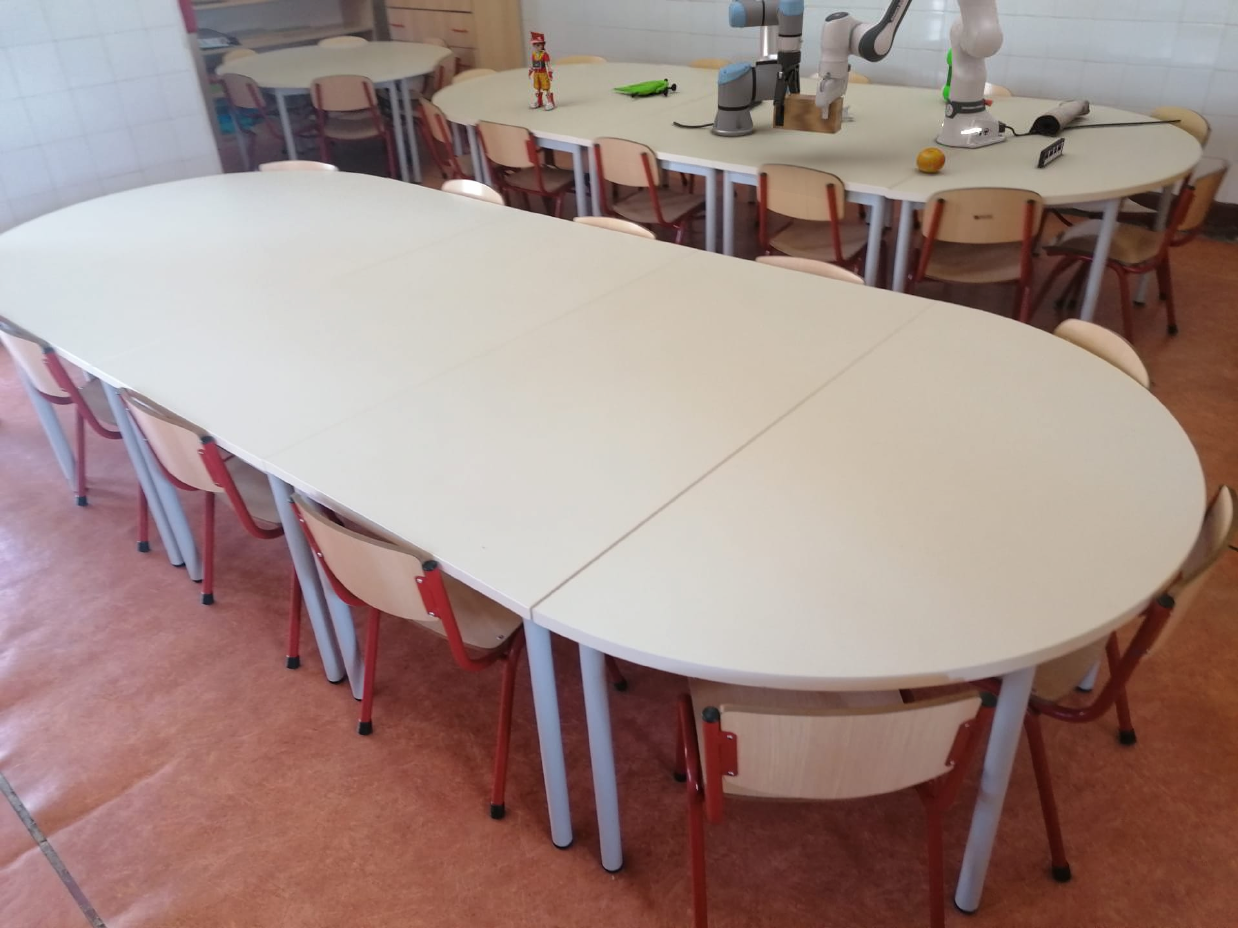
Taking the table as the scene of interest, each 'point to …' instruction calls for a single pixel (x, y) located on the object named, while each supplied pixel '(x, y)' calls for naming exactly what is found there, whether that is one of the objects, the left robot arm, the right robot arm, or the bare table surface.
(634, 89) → the toy
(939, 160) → the fruit
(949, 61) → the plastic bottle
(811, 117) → the box
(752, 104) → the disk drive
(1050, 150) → the midi keyboard
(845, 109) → the anatomical model
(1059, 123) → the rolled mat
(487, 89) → the table surface
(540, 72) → the toy
